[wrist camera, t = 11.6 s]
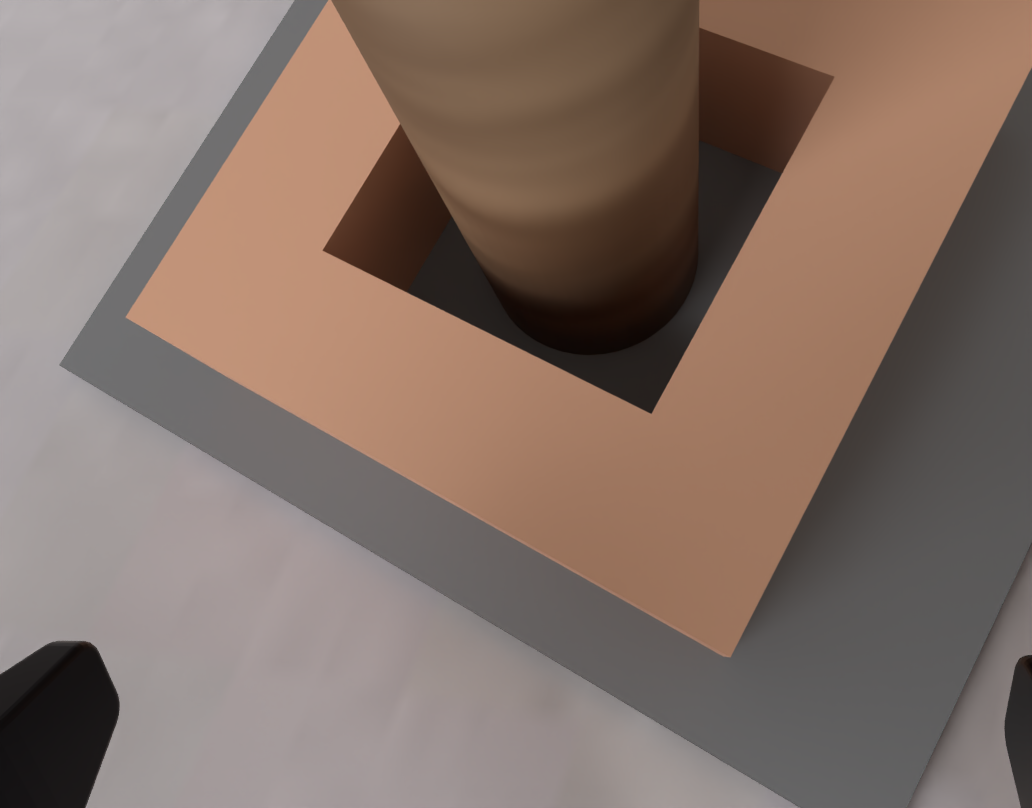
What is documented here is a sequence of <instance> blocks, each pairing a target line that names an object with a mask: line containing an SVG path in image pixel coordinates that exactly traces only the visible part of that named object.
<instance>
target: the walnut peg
mask: <svg viewBox="0 0 1032 808" xmlns="http://www.w3.org/2000/svg"><path fill="white" fill-rule="evenodd" d="M331 1H332V3H333V4H334V6H335V8H336V10H337V12H338V13H339V15H340V17H341V19H342V21H343V22H344V24H345V26H346V28H347V29H348V31H349V33H350V35H351V37H352V38H353V40H354V42H355V44H356V46H357V47H358V49H359V51H360V53H361V55H362V56H363V58H364V60H365V62H366V63H367V65H368V67H369V69H370V71H371V72H372V74H373V76H374V78H375V80H376V81H377V83H378V85H379V87H380V88H381V90H382V92H383V94H384V96H385V97H386V99H387V101H388V103H389V105H390V106H391V108H392V110H393V112H394V113H395V115H396V117H397V119H398V121H399V122H400V124H401V126H402V128H403V130H404V131H405V133H406V135H407V137H408V139H409V140H410V142H411V144H412V146H413V147H414V149H415V151H416V153H417V155H418V156H419V158H420V160H421V162H422V164H423V165H424V167H425V169H426V171H427V172H428V174H429V176H430V178H431V180H432V181H433V183H434V185H435V187H436V189H437V190H438V192H439V194H440V196H441V198H442V199H443V201H444V203H445V205H446V206H447V208H448V210H449V212H450V214H451V215H452V217H453V219H454V221H455V223H456V224H457V226H458V228H459V230H460V231H461V233H462V235H463V237H464V239H465V240H466V242H467V244H468V246H469V248H470V249H471V251H472V253H473V255H474V256H475V258H476V260H477V262H478V264H479V265H480V267H481V269H482V271H483V273H484V274H485V276H486V278H487V280H488V282H489V283H490V285H491V287H492V289H493V290H494V292H495V294H496V296H497V298H498V299H499V301H500V303H501V305H502V306H503V308H504V310H505V311H506V313H507V314H508V316H509V317H510V318H511V320H512V321H513V322H514V323H515V324H516V325H517V326H518V327H519V328H520V329H521V330H522V331H523V332H524V333H525V334H527V335H528V336H530V337H531V338H533V339H534V340H536V341H537V342H539V343H541V344H543V345H545V346H547V347H550V348H553V349H556V350H559V351H562V352H567V353H572V354H581V355H597V354H606V353H612V352H617V351H620V350H623V349H626V348H629V347H632V346H634V345H636V344H638V343H640V342H642V341H644V340H646V339H647V338H649V337H651V336H652V335H654V334H655V333H656V332H658V331H659V330H660V329H661V328H663V327H664V326H665V325H666V324H667V323H668V322H669V321H670V320H671V319H672V318H673V317H674V316H675V315H676V313H677V312H678V310H679V309H680V308H681V306H682V305H683V303H684V302H685V300H686V298H687V296H688V294H689V292H690V290H691V287H692V284H693V282H694V279H695V274H696V270H697V263H698V201H699V0H331Z"/></svg>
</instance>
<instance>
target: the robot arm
mask: <svg viewBox="0 0 1032 808" xmlns="http://www.w3.org/2000/svg"><path fill="white" fill-rule="evenodd" d="M118 715H119V697H118V694H117V691H116V689H115V687H114V684H113V682H112V680H111V678H110V676H109V673H108V671H107V669H106V667H105V665H104V662H103V660H102V658H101V656H100V653H99V651H98V650H97V648H96V647H95V646H94V645H92V644H91V643H89V642H86V641H56V642H51V643H49V644H47V645H45V646H44V647H42V648H40V649H39V650H37V651H36V652H34V653H33V654H31V655H30V656H28V657H27V658H25V659H23V660H22V661H20V662H19V663H17V664H16V665H14V666H13V667H11V668H9V669H8V670H6V671H5V672H3V673H2V674H0V808H86V805H87V802H88V799H89V797H90V794H91V791H92V789H93V786H94V783H95V780H96V778H97V775H98V772H99V770H100V767H101V764H102V761H103V759H104V756H105V753H106V750H107V748H108V745H109V742H110V740H111V737H112V734H113V731H114V729H115V726H116V723H117V720H118ZM1005 740H1006V746H1007V751H1008V755H1009V759H1010V763H1011V767H1012V772H1013V776H1014V780H1015V784H1016V788H1017V792H1018V796H1019V801H1020V805H1021V808H1032V655H1027V656H1024V657H1022V658H1020V659H1019V660H1018V662H1017V664H1016V667H1015V670H1014V675H1013V681H1012V686H1011V691H1010V696H1009V701H1008V706H1007V712H1006V717H1005Z"/></svg>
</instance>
